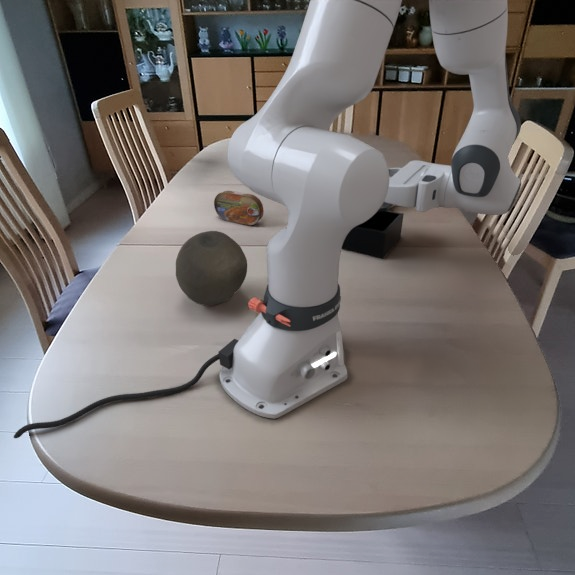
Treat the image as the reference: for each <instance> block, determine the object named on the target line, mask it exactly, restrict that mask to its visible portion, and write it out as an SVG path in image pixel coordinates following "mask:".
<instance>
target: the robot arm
mask: <svg viewBox="0 0 575 575" xmlns="http://www.w3.org/2000/svg"><path fill="white" fill-rule="evenodd" d="M402 2H403V0H309V4H308V7H307V10H306V13H305V16H304V20H303V23H302V26H301V29H300V32H299V35H298V38H297V41H296V44H295V47H294V50H293V53H292V56H291V58H290V61H289V63H288V66H287V68H286V70H285V72H284V74H282V78H281V79H280V81H279V83H278V84H277V86H276V88H275V89H274V90H273V92H272V93H271V95H270V96H269V97H268V99H267V100H266V102H265V103H264V105H263V106H262V107H261V108H260V109H259V111H257V112H256V114H254V115H253V116H251V118H249V119H248V120H246V121H245V122H243V123H241V124H240V125H239V126H238V127H237V128H235V130H234V132H233V133H232V135H231V137H230V139H229V142H228V145H227V152H226V153H227V154H226V155H227V157H226V158H227V164H228V168H229V170H230V172H231V174H232V175H233V176H234V178H235V179H237V181H239V182H240V183H241V184H242V185H244V187H246V188H247V189H249V190H250V191H252V193H254V194H256V195H259V196H261V197H264V198H266V199H268V200H271V201H273V202H276V203H278V204H281V205H283V206H285V208H286V211H287V215H288V221H287V226H285V227H283V228H281V229H280V230H278V231H277V232H276V233H275V234H274V235H273V236H272V237H271V239H269V241H268V243H267V246H266V250H265V252H266V253H265V254H266V268H267V269H266V270H267V285H266V288H265V291H264V295H263V299H262V300H261V299H259V298H258V297H256V296H254V297H252V298H251V299H249V301H248V308H249V309H250V310H252V311H254V312H255V313H257V316H256V317H255V319H254V320H253V321H252V322H251V323H250V325H249V327H248V328H247V329H246V331H245V332H244V333H243V334H242V336H241V337H240V338H239V339H237V338H233V339H232V340H231V341H230V342H229V343H227V344H226V345H225V346H223V347H222V348H221V349H220V350H218V352H217V354H215V355H214V356H212V357H210V358H209V359H208V360H206V361H205V362H204V363H203V364H202V366H200V368H199V370H198V371H197V373H196V375H195V376H194V377H193V378H192V379H191V380H189V381H188V382H186V383H184V384H181V385H179V386H176V387H170V388H165V389H163V388H162V389H156V390H151V391H145V392H136V393H124V394H116V395H111V396H107V397H104V398H102V399H99V400H96V401H94V402H92V403H90V404H89V405H87V406H85V407H83V408H81V409H79V410H78V411H76V412H75V413H72V414H70V415H68V416H66V417H63V418H62V419H57V420H53V421H44V422H32V423H28V424H26V425H24V426H22V427H21V428H19V429H18V430H17V431H16V432H15V433H14V434H13V439H19V438H20V437H22V436H23V435H24V434H25V433H27V432H29V431H33V430H41V429H42V430H43V429H53V428H57V427H61V426H64V425H66V424H67V425H68V424H69V423H71V422H74V421H75V420H77V419H79V418H81V417H82V416H84V415H87V413H89V412H91V411H93V410H94V409H96V408H99V407H101V406H104V405H106V404H109V403H114V402H118V401H128V400H139V399H147V398H152V397H159V396H160V397H161V396H164V395H165V396H166V395H172V394H177V393H180V392H183V391H185V390H188V389H190V388H191V387H193V386H194V385H196V384H197V383H198V382H199V381H200V380H201V378H202V377H203V375H204V373H205V372H206V370H207V369H208V368H209V367H210V366H211V365H213V364H214V363H216V362H217V361H219V365H220V366H222V368H221V369H220V370H219V374H218V375H219V382H220V385H221V387H222V388H223V390H224V391H225V393H226V394H227V395H228V396H229V397H230V398H231V399H232V400H233V401H234V402H235V403H237V404H238V405H239V406H241V407H242V408H244V409H245V410H247V411H248V412H250V413H252V414H254V415H257V416H259V417H263V418H267V419H272V420H273V419H274V420H275V419H278V418H281V417H282V416H284V415H286V414H288V413H289V412H291V411H293V410H295V409H297V408H299V407H301V406H302V405H304V404H306V403H308V402H309V401H311V400H313V399H315V398H317V397H318V396H320V395H322V394H324V393H326V392H327V391H329V390H331V389H333V388H335V387H336V386H338V385H341V383H344V382H345V381H347V379H348V377H349V376H348V369H347V367H346V366H347V365H346V364H345V350H344V346H343V335H342V329H341V324H340V320H339V311H340V307H341V301H342V300H341V299H342V297H341V286H340V284H339V272H340V260H341V253H342V249H341V248H342V245H343V242H344V240H345V238H346V236H347V234H348V233H349V232H350V231H351V230H352V229H353V228H354V227H356V226H357V225H360V224H362V223H364V222H365V221H367V220H368V219H370V218H371V217H372V216H373V215H374V214H375V213H376V212H377V211H378V210H379V208H380V207H381V206H382V204H383V202H386V203H389V204H393V205H395V206H397V207H403V208H408V209H409V208H415V211H416V212H420V213H425V212H427V211H430V210H432V209H438V208H444V209H459V210H461V211H464V212H467V213H472V214H478V215H488V216H501V215H505V214H508V212H510V211H511V210H512V208H513V207H514V204H515V202H516V201H517V197H518V195H519V193H520V190H521V186H522V180H521V179H520V178H519V177H517V176H516V174H515V172H514V171H513V169H512V166H511V163H510V158H509V156H510V152H511V151H512V148H513V145H514V144H515V142H516V140H517V138H518V137H519V135H520V132H521V129H522V122H521V117H520V115H519V113H518V111H517V109H516V108H515V106H514V104H513V102H512V99H511V97H510V90H509V89H510V88H509V79H508V78H509V77H508V67H507V66H508V65H507V57H506V48H507V40H508V39H507V38H508V25H509V24H508V21H509V20H508V19H509V16H508V14H509V13H508V12H509V10H508V7H509V6H508V0H428V8H429V9H428V10H429V21H430V28H431V35H432V42H433V47H434V51H435V55H436V57H437V60H438V62H439V64H440V66H441V67H442V68H443V69H444V70H446V71H448V72H450V73H451V74H455V75H463V76H465V75H468V77H469V82H470V83H469V84H470V89H471V95H472V102H473V109H472V113H471V115H470V118H469V120H468V122H467V125H466V128H465V130H464V132H463V134H462V136H461V137H460V140H459V142H458V144H456V147H455V150H454V152H453V154H452V157H451V162H450V165H448V164H440V163H433V162H430V161H429V162H428V161H424V160H418V159H414V160H410V161H409V162H407V163H406V164H405V165H404V166H403V167H389V165H388V161H387V159H386V157H385V155H384V154H383V153H382V152H381V151H380V150H379V149H377V148H375V147H373V146H372V145H370V144H368V143H367V142H364V141H362V140H361V139H358V138H356V137H355V136H353V135H349V134H346V133H341V132H336V131H332V130H329V129H330V128H331V126H332V124H333V123H334V122H335V120H337V118H338V117H339V116H340V115H341V114H342V113H343V112H344V111H345V110H346V109H348V108H350V107H352V106H355V105H356V104H358V103H360V102H361V101H363V100H365V98H367V97H368V95H369V94H370V93H371V91H372V90H373V88H374V86H375V84H376V81H377V78H378V75H379V72H380V69H381V66H382V63H383V61H384V58H385V55H386V52H387V49H388V47H389V43H390V40H391V37H392V35H393V32H394V30H395V29H394V28H395V26H396V22H397V20H398V16H399V13H400V10H401V7H402V6H401V5H402Z"/></svg>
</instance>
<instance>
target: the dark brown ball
mask: <svg viewBox="0 0 575 575" xmlns="http://www.w3.org/2000/svg"><path fill="white" fill-rule="evenodd" d="M247 273H248V260H247V257H246V254H245V253H244V250H243V249H242V247H241V245H240V244H239V243H238V242H236V241H235V239H233V238H231V237H230V236H229V235H228V234H226V233H224V232H222V231H218V230H208V231H207V230H206V231H203V232H199V233H197V234H195V235H192V236H191V237H189V238H188V239H187V240H186V241H185V242H184V243H183V244H182V246H181V247H180V249H179V251H178V254H177V255H176V259H175V276H176V277H175V278H176V282H177V284H178V287H179V289H180V290H181V291H182V292H183V294H184V295H185V296H186V297H187V298H188V299H189V300H191V301H192V302H194V303H196V304H198V305H201V306H215V305H216V306H217V305H219V304H223V303H224V302H227V301H229V299H231V298H232V297H233V296H234V295H235V294H236V293H237V292H238V291H239V290H240V289H241V287H242V285H243V284H244V282H245V280H246V277H247Z"/></svg>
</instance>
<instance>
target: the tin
mask: <svg viewBox="0 0 575 575" xmlns="http://www.w3.org/2000/svg"><path fill="white" fill-rule="evenodd" d="M213 207H214V210H215V212H216V214H217V215H218V217H219V218H220V219H221V220H223V221H225V222H230V223H235V224H240V225H244V226H253V225H256V224H257V223H258V222H260V221H261V220H262V219H263V216H264V204H263V203H262V201H261V200H260V198H259V197H258V196H256V195H254V194H252V193H246V192H239V191H233V190H225V191H222V192H218V194H216V195H215V198H214V201H213Z"/></svg>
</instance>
